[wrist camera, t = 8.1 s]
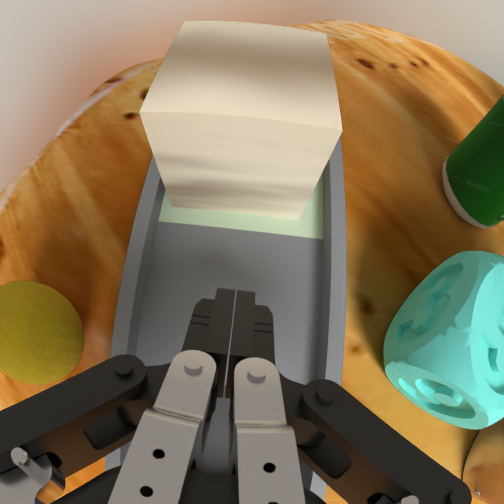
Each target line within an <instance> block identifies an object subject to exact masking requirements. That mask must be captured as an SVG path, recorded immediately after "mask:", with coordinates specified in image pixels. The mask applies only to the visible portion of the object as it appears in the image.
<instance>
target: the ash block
mask: <svg viewBox="0 0 504 504" xmlns="http://www.w3.org/2000/svg"><path fill="white" fill-rule="evenodd" d="M139 113H140V116H141V119H142V122H143V126H144V129H145V132H146V135H147V138H148V141H149V144H150V147H151V150H152V153H153V155H154V158H155V161H156V164H157V167H158V170H159V173H160V175H161V178H162V181H163V184H164V187H165V189H166V192H167V195H168V197H169V200H170V203H171V206H172V207H180V208H192V209H203V210H214V211H224V212H234V213H244V214H254V215H263V216H272V217H281V218H289V219H298V220H299V218H300V216H301V214H302V212H303V210H304V208H305V206H306V204H307V202H308V200H309V198H310V196H311V194H312V192H313V190H314V188H315V186H316V184H317V182H318V180H319V178H320V176H321V174H322V172H323V170H324V168H325V166H326V164H327V162H328V160H329V158H330V156H331V154H332V152H333V150H334V147H335V145H336V143H337V141H338V139H339V137H340V135H341V133H342V123H341V115H340V108H339V101H338V94H337V88H336V82H335V76H334V70H333V65H332V59H331V54H330V49H329V44H328V39H327V34H324V33H319V32H314V31H309V30H303V29H297V28H291V27H284V26H277V25H269V24H259V23H248V22H232V21H185V22H184V24H183V26H182V27H181V29H180V31H179V33H178V34H177V36H176V38H175V40H174V41H173V43H172V45H171V47H170V49H169V51H168V53H167V54H166V56H165V58H164V60H163V62H162V64H161V66H160V68H159V70H158V72H157V74H156V76H155V78H154V80H153V83H152V85H151V87H150V89H149V91H148V93H147V96H146V98H145V100H144V102H143V105H142V107H141V109H140V112H139Z"/></svg>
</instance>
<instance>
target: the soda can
mask: <svg viewBox="0 0 504 504" xmlns="http://www.w3.org/2000/svg"><path fill="white" fill-rule="evenodd" d="M442 176H443V186H444V191H445V194H446V196H447V199H448V201H449V203H450V204H451V206H452V208H453V209H454V211H455V212H456V213H457V214H458V215H459V216H460V217H461V218H462V219H463V220H465V221H466V222H468V223H471V224H472V225H474V226H476V227H479V228H482V229H486V228H491V227H493V226H495V225H496V224H498V223H499V222H501V221H503V220H504V95H503V96H502V97H501V98H500V99H499V101H498V102H497V103H496V104H495V105H494V106H493V108H492V109H491V110H490V111H489V112H488V113H487V114H486V116H485V117H484V118H483V119H482V120H481V121H480V122H479V123H478V125H477V126H476V127H475V128H474V129H473V130H472V131H471V132H470V133H469V134H468V136H467V137H466V138H465V139H464V140H463V141H462V142H461V143H460V144H459V145H458V146H457V147H456V148H455V149H454V150H453V152H452V153H451V154H450V155H449V156H448V157H447V158H446V160H445V161H444V163H443V169H442Z"/></svg>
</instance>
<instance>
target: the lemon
mask: <svg viewBox="0 0 504 504" xmlns="http://www.w3.org/2000/svg"><path fill="white" fill-rule="evenodd" d="M83 348H84V330H83V326H82V322H81V319H80V317H79V315H78V313H77V311H76V309H75V308H74V307H73V305H72V304H71V303H70V302H69V300H68V299H67V298H66V297H65V296H63V295H62V294H60V293H59V292H58V291H56V290H55V289H53V288H51V287H49V286H46V285H44V284H41V283H38V282H34V281H13V282H10V283H7V284H4V285H2V286H0V371H1V372H2V373H4V374H5V375H7V376H8V377H10V378H12V379H15V380H17V381H20V382H23V383H26V384H36V385H45V384H50V383H53V382H56V381H59V380H61V379H63V378H65V377H66V376H67V375H68V374H69V373H71V372H72V371H73V370H74V368H75V367H76V365H77V364H78V363H79V361H80V358H81V356H82V353H83Z"/></svg>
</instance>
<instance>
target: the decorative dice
mask: <svg viewBox="0 0 504 504" xmlns="http://www.w3.org/2000/svg"><path fill="white" fill-rule="evenodd" d="M383 354H384V367H385V373H386V375H387V377H388V379H389V381H390V382H391V383H392V384H393V386H394V387H395V388H396V389H397V390H398V391H399V392H400V393H401V394H402V395H404V396H405V397H406V398H407V399H408V400H410V401H411V402H412V403H414V404H415V405H417V406H418V407H420V408H421V409H423V410H424V411H426V412H427V413H429V414H431V415H433V416H435V417H437V418H439V419H441V420H443V421H445V422H447V423H450V424H452V425H455V426H458V427H462V428H467V429H483V428H485V427H487V426H490V425H492V424H494V423H495V422H497V421H499V420H500V419H502V418H503V417H504V257H502V256H500V255H497V254H494V253H490V252H485V251H464V252H460V253H457V254H455V255H453V256H452V257H450V258H448V259H447V260H445V261H444V262H443V263H441V264H440V265H439V266H438V267H436V268H435V269H434V270H433V271H432V272H431V273H430V274H429V275H428V276H427V277H426V278H425V279H424V280H423V281H422V282H421V283H420V284H419V285H418V286H417V287H416V288H415V289H414V291H413V292H412V293H411V294H410V295H409V297H408V298H407V299H406V301H405V302H404V303H403V305H402V306H401V307H400V309H399V310H398V312H397V313H396V315H395V317H394V318H393V320H392V322H391V324H390V326H389V328H388V330H387V333H386V336H385V339H384V350H383Z"/></svg>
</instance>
